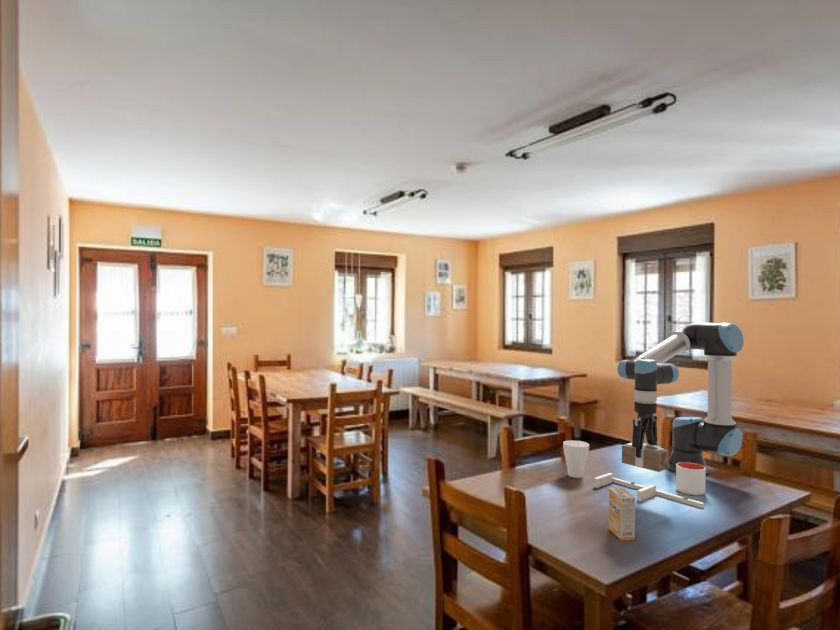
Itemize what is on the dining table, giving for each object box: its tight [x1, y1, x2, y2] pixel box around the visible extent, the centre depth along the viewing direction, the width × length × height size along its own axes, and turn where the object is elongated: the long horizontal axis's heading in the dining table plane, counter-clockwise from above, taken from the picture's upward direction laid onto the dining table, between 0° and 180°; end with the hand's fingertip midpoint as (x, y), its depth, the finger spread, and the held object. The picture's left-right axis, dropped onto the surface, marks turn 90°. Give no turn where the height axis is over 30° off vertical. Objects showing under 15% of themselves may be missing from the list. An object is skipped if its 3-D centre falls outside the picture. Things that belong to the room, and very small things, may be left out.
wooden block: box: [621, 441, 670, 473], centre depth 188 cm, size 7×14×7 cm, turn 40°
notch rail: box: [593, 472, 705, 509], centre depth 191 cm, size 12×36×4 cm, turn 39°
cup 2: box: [675, 462, 707, 496], centre depth 197 cm, size 10×10×10 cm
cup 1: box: [562, 440, 590, 479], centre depth 214 cm, size 10×10×14 cm
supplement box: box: [608, 487, 636, 541], centre depth 158 cm, size 8×5×13 cm, turn 5°
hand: (644, 464), depth 188 cm, fingers closed on wooden block, 7 cm apart
